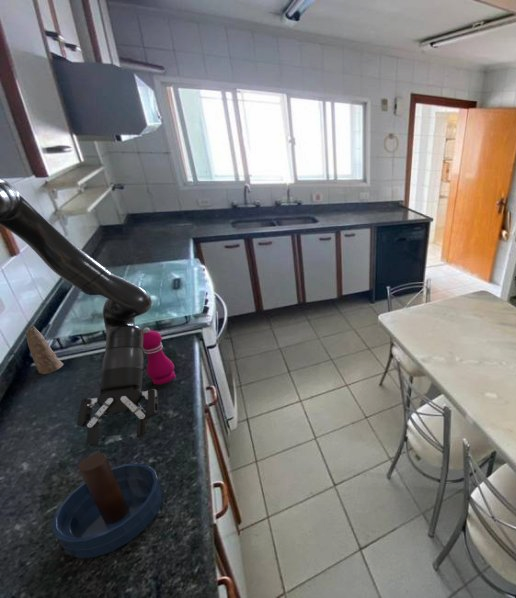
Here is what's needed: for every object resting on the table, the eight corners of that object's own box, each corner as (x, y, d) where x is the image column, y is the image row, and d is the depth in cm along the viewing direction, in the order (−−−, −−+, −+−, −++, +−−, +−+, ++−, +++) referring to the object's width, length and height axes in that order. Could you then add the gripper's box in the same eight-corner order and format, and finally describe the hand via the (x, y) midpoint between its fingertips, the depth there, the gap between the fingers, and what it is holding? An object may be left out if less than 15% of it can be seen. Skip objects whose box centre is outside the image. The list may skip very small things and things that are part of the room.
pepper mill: (146, 383, 107) (125, 331, 98) (167, 370, 113) (149, 320, 104) (161, 389, 104) (141, 336, 96) (182, 376, 110) (165, 324, 102)
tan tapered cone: (72, 369, 111) (49, 373, 109) (51, 320, 105) (27, 323, 103) (60, 379, 105) (36, 383, 103) (37, 327, 99) (12, 331, 98)
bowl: (48, 575, 60) (35, 556, 57) (81, 496, 73) (72, 477, 70) (155, 538, 66) (148, 520, 64) (168, 472, 79) (162, 454, 77)
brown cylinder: (101, 527, 67) (74, 473, 60) (107, 509, 70) (82, 456, 63) (125, 519, 69) (102, 466, 62) (130, 502, 72) (108, 450, 65)
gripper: (76, 371, 73) (66, 449, 68) (152, 362, 77) (148, 434, 72) (94, 375, 79) (87, 447, 74) (163, 367, 84) (161, 434, 79)
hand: (117, 441), depth 73 cm, fingers open, 8 cm apart
